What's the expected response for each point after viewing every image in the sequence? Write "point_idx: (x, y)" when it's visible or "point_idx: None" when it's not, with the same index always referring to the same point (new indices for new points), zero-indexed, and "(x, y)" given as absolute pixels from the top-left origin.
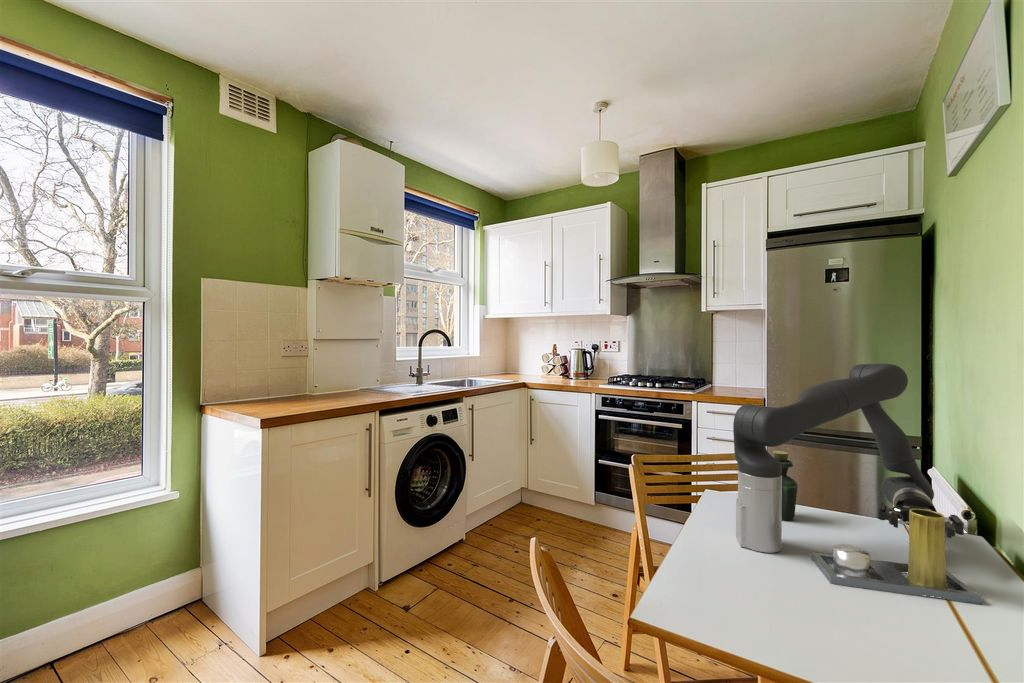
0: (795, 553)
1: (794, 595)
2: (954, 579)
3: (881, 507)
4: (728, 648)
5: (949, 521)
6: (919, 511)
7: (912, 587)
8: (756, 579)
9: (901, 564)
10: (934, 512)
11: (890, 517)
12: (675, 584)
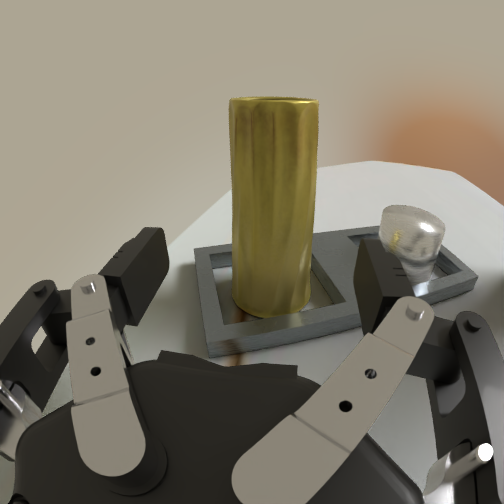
0: (498, 296)
1: (420, 205)
2: (210, 290)
3: (488, 361)
4: (407, 165)
5: (89, 279)
6: (288, 109)
7: None
8: (462, 216)
9: (322, 313)
10: (246, 102)
11: (395, 261)
12: (481, 195)
